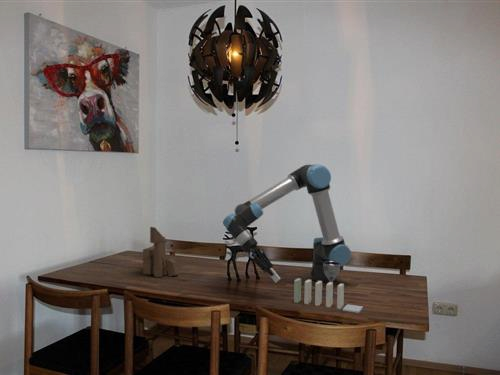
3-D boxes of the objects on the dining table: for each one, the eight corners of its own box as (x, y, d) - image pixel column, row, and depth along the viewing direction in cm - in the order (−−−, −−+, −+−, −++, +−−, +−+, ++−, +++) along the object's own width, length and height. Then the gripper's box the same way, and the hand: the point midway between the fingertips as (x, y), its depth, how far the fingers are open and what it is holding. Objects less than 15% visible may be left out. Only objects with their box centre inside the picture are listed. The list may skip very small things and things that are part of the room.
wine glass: (337, 291, 228) (337, 261, 227) (340, 295, 220) (341, 264, 219) (321, 291, 228) (321, 261, 227) (324, 295, 220) (325, 264, 219)
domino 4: (325, 307, 202) (326, 284, 201) (329, 304, 206) (329, 282, 206) (329, 307, 201) (329, 285, 201) (332, 304, 206) (333, 282, 205)
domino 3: (315, 305, 204) (315, 283, 204) (318, 302, 208) (318, 280, 208) (318, 305, 203) (318, 283, 203) (321, 303, 208) (322, 281, 207)
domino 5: (337, 308, 200) (337, 286, 199) (340, 305, 204) (340, 283, 204) (340, 309, 199) (341, 286, 198) (343, 306, 203) (344, 283, 203)
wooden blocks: (171, 280, 247) (171, 228, 246) (137, 277, 253) (138, 226, 251) (189, 270, 270) (189, 223, 269) (158, 268, 276) (158, 221, 275)
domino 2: (304, 303, 206) (304, 281, 206) (307, 301, 211) (308, 279, 210) (307, 304, 205) (308, 282, 205) (311, 301, 210) (311, 279, 210)
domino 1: (293, 302, 208) (294, 280, 208) (297, 299, 213) (298, 278, 212) (297, 302, 208) (297, 280, 207) (300, 299, 212) (301, 278, 212)
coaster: (347, 305, 204) (347, 304, 204) (362, 307, 201) (362, 306, 201) (342, 310, 197) (342, 309, 197) (358, 312, 194) (358, 311, 194)
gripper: (247, 245, 227) (278, 282, 221) (235, 248, 216) (267, 288, 209) (257, 235, 225) (288, 273, 218) (245, 238, 213) (278, 278, 207)
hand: (278, 280), depth 214 cm, fingers closed
